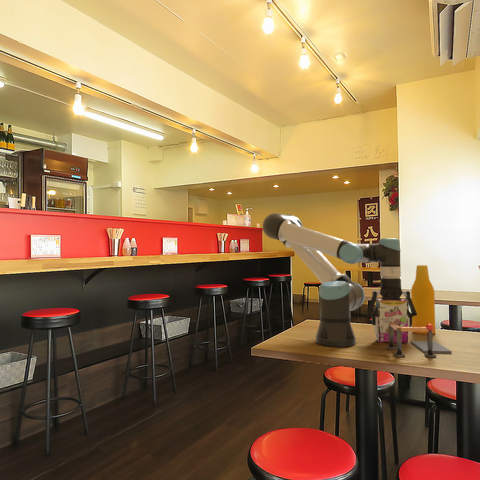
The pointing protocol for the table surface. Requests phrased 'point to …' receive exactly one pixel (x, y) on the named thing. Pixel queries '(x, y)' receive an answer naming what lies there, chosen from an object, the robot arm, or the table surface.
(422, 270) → the beer bottle
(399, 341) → the bent wire
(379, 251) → the robot arm
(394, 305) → the candy bar box
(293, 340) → the table surface
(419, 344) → the mat
